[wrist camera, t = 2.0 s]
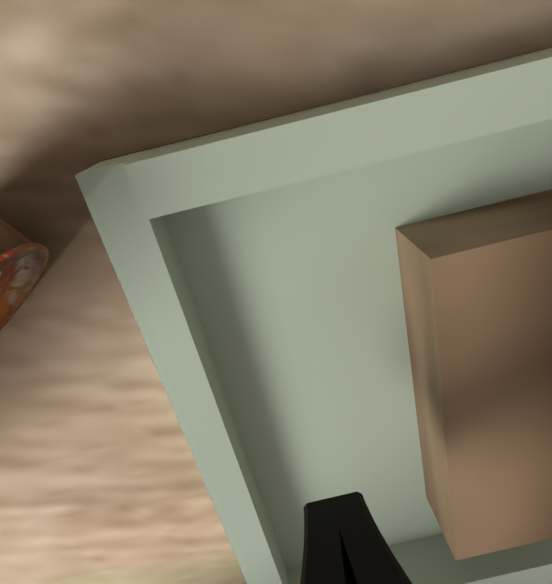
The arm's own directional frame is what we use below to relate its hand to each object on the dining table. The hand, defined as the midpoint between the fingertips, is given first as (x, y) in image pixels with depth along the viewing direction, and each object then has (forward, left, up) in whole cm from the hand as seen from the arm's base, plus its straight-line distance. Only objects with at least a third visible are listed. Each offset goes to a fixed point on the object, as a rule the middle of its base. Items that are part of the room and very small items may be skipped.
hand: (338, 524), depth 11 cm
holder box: (+4, 0, -5) cm, 7 cm away
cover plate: (+7, 0, -4) cm, 8 cm away
